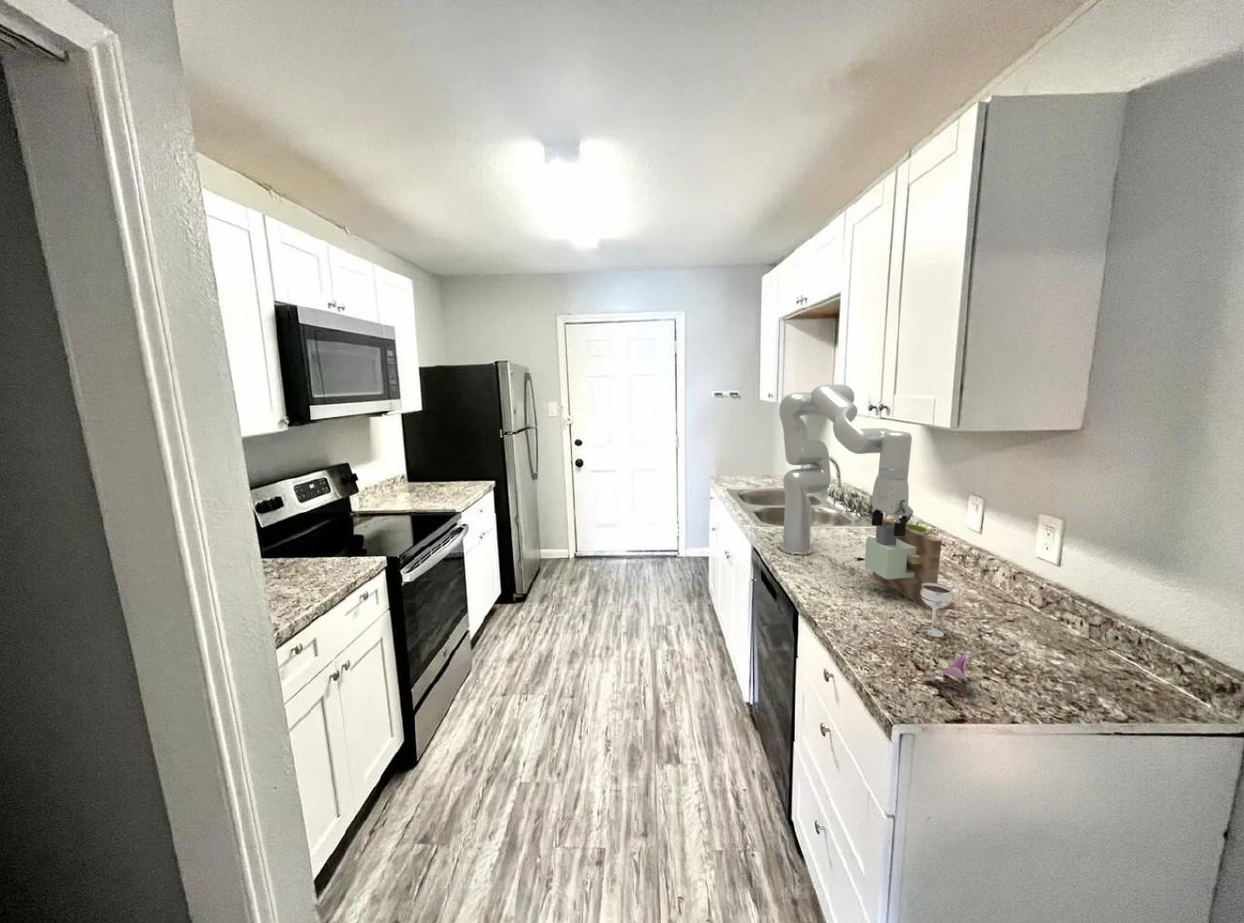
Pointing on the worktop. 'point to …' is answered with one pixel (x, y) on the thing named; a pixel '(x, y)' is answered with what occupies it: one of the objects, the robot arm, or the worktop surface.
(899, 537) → the wall board
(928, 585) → the wineglass
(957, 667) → the lily
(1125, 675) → the worktop surface
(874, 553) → the mint green box
